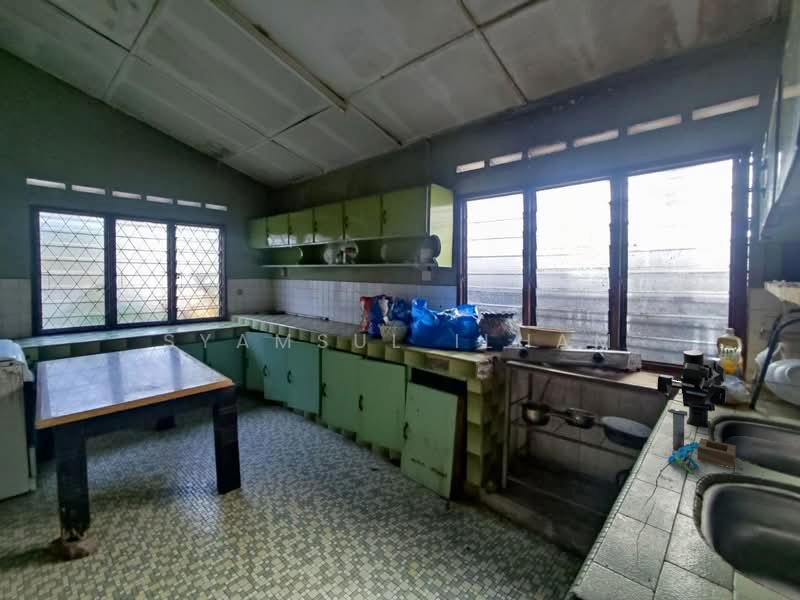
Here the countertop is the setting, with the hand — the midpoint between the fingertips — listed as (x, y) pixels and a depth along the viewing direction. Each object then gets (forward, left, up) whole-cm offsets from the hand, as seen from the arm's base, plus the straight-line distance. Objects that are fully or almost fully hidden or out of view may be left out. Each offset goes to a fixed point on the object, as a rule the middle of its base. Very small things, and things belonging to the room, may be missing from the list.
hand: (686, 398), depth 121 cm
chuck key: (+5, -1, -16) cm, 17 cm away
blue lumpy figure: (+16, +1, -16) cm, 23 cm away
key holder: (+5, +8, -16) cm, 19 cm away
